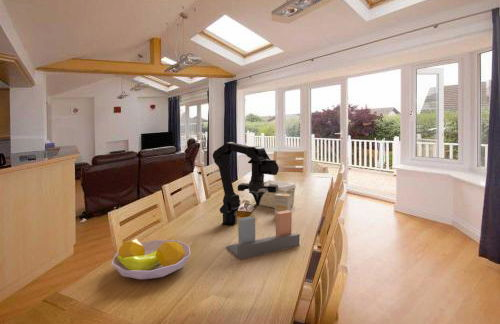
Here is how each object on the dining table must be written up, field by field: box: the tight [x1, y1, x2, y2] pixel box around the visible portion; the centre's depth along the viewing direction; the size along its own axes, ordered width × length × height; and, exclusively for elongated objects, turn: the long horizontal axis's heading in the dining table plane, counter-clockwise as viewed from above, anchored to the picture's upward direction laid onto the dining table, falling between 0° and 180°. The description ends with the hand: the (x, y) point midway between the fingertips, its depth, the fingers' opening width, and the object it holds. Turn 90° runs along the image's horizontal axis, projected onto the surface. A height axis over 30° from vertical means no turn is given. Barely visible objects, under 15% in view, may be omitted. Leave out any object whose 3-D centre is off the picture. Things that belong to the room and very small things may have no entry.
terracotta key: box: [275, 210, 292, 237], centre depth 125 cm, size 3×6×13 cm, turn 118°
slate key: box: [237, 215, 256, 245], centre depth 117 cm, size 3×6×13 cm, turn 118°
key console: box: [225, 232, 301, 261], centre depth 124 cm, size 13×28×5 cm, turn 118°
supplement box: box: [274, 193, 292, 218], centre depth 164 cm, size 8×5×13 cm, turn 58°
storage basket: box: [258, 179, 297, 209], centre depth 191 cm, size 24×16×15 cm
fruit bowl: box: [111, 238, 192, 280], centre depth 104 cm, size 28×27×11 cm
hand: (258, 205), depth 141 cm, fingers closed
